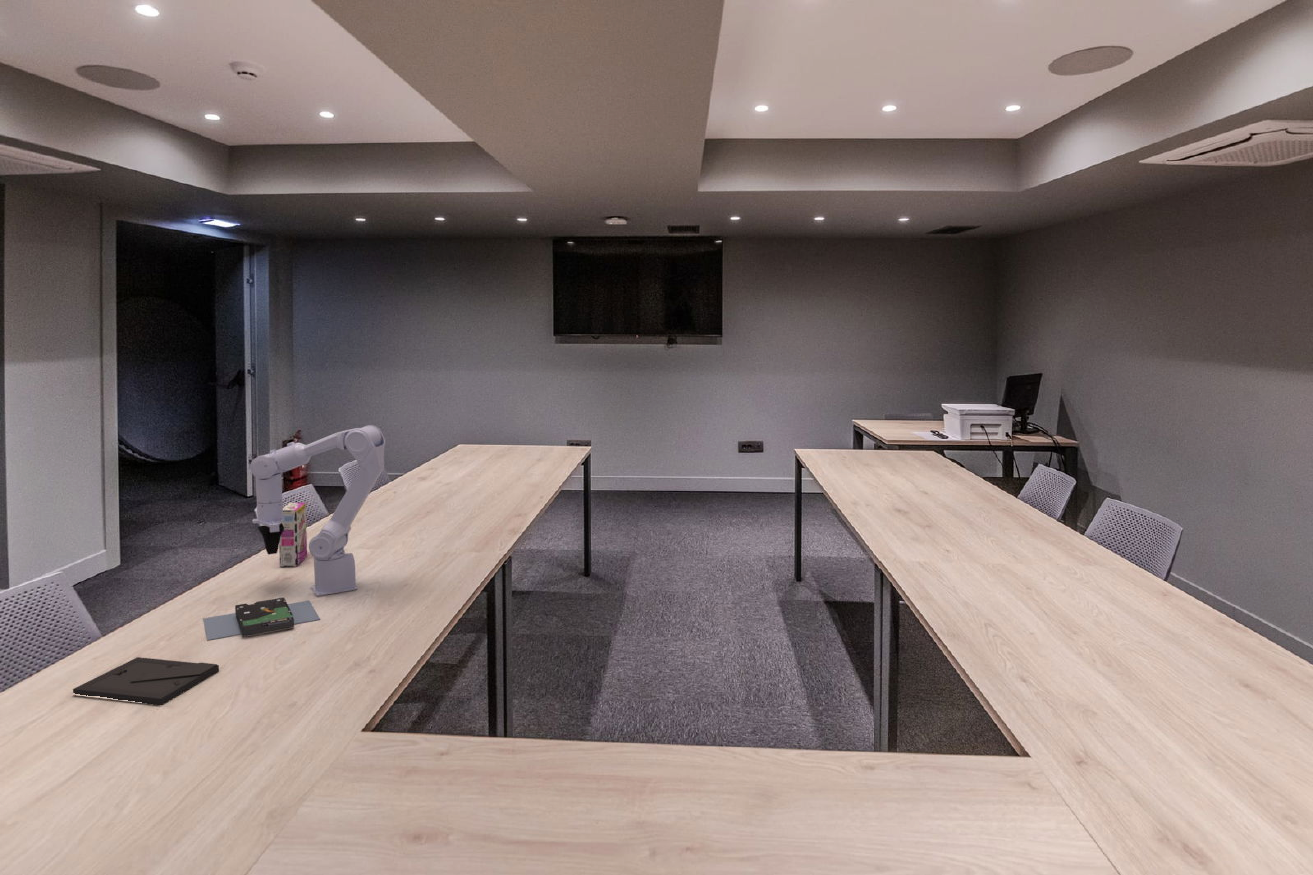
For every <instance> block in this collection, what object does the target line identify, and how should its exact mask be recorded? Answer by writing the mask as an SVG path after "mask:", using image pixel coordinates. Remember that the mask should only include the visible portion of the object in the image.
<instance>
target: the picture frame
mask: <svg viewBox="0 0 1313 875" xmlns="http://www.w3.org/2000/svg"><path fill="white" fill-rule="evenodd" d="M219 672H220V666H219V664H217V663H216V664H215V663H208V662H189V661H180V660H179V661H178V660H170V659H169V660H168V659H159V658H152V657H151V658H150V657H140V656H139V657H138V656H137V657H134V658H133V659H131V660H129V661H126V662H125V663H123V664H120V665H119V666H117V667H115V668H112V669H111V670H108V671H106V672H105V673H102V674H101V675H98V676H97V677H94V678H93V679H90V680H89V681H87V682H83V683H82V684H81V685H78V686H77V687H74V688H72V693H75V694H80V695H86V696H87V695H88V696H100V697H107V698H113V699H118V700H128V701H135V702H142V703H147V704H146V705H150V704H153V705H152V706H158V705H162V706H163V705H165V704H167V703H169V702H170V701H172V700H174V699H175V698H177V697H178V696H180V695H182V694H183V692H184V693H185V692H188V691H189V690H190V689H192V688H193V687H195V686H197V685H198V684H201V683H202V682H204V681H206V680H207V679H209V678H211V677H213V676H214V675H216V674H218V673H219ZM176 696H177V697H176ZM173 698H174V699H173ZM169 700H170V701H169Z"/></svg>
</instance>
